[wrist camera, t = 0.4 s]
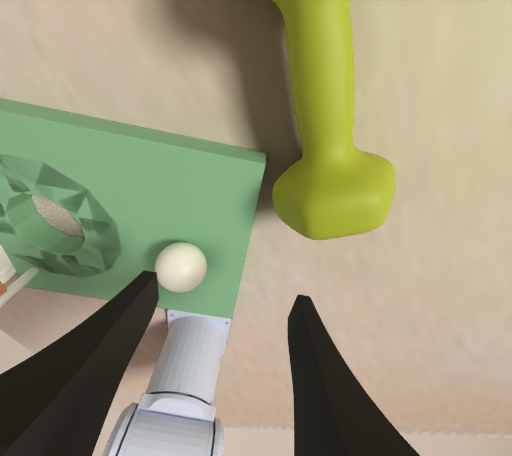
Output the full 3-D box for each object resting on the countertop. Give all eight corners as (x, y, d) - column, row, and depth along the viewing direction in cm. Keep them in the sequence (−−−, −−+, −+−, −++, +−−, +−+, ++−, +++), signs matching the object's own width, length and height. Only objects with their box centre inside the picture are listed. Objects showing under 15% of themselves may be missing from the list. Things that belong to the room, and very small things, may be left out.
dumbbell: (211, -87, 11) (149, -247, 6) (385, -162, 10) (548, -484, 4) (275, 202, 20) (278, 258, 15) (372, 184, 19) (418, 237, 13)
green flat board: (234, 300, 28) (232, 319, 26) (34, 268, 27) (15, 285, 24) (266, 152, 18) (265, 164, 16) (-57, 86, 16) (-104, 89, 14)
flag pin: (59, 256, 25) (-3, 312, 20) (51, 255, 25) (-14, 311, 19) (50, 236, 24) (-20, 291, 18) (42, 235, 24) (-31, 289, 18)
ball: (209, 270, 22) (199, 306, 19) (166, 263, 22) (148, 298, 18) (213, 237, 20) (201, 271, 16) (165, 228, 19) (143, 261, 16)
